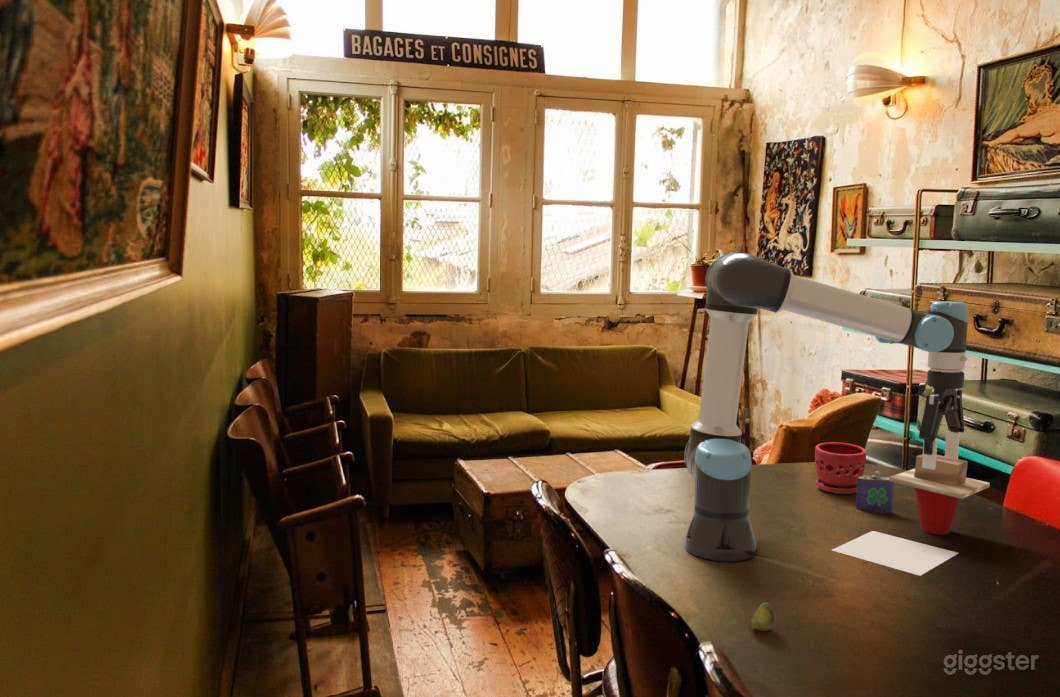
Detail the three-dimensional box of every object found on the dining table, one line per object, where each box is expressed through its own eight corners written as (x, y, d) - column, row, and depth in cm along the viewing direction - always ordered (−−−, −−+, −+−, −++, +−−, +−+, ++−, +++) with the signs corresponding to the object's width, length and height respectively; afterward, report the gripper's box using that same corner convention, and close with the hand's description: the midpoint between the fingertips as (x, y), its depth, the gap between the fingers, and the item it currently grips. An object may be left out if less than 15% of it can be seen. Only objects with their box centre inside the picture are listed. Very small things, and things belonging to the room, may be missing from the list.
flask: (891, 511, 210) (893, 469, 209) (895, 515, 207) (898, 473, 206) (854, 510, 210) (856, 469, 209) (858, 514, 207) (860, 472, 206)
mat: (919, 580, 166) (920, 575, 166) (830, 554, 180) (830, 550, 180) (958, 557, 178) (958, 553, 178) (872, 534, 192) (872, 530, 192)
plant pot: (803, 486, 232) (804, 444, 230) (838, 481, 237) (840, 440, 236) (838, 499, 220) (840, 455, 219) (875, 493, 225) (877, 450, 224)
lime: (750, 635, 142) (751, 607, 141) (748, 622, 147) (749, 595, 146) (777, 637, 141) (778, 609, 141) (774, 625, 146) (775, 597, 145)
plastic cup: (968, 544, 186) (971, 491, 185) (916, 540, 189) (919, 489, 187) (954, 528, 197) (957, 478, 196) (905, 525, 199) (908, 476, 198)
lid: (961, 498, 180) (964, 471, 179) (889, 481, 192) (891, 455, 191) (989, 487, 191) (992, 461, 190) (918, 470, 203) (921, 446, 202)
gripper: (940, 376, 178) (934, 476, 180) (984, 366, 194) (977, 458, 196) (905, 372, 183) (900, 469, 186) (950, 363, 199) (944, 452, 202)
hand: (940, 463), depth 191 cm, fingers open, 11 cm apart
